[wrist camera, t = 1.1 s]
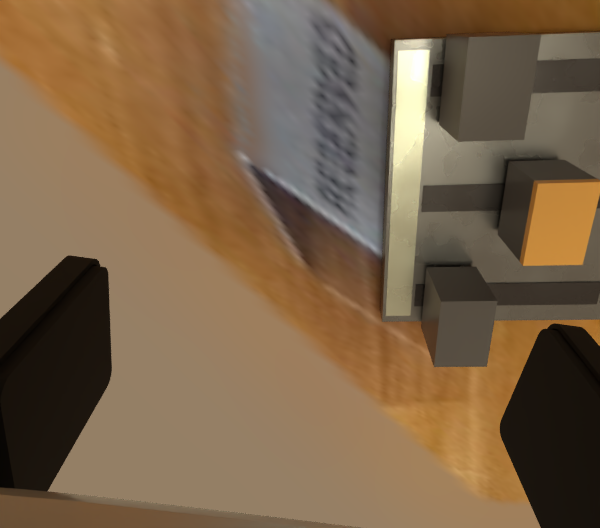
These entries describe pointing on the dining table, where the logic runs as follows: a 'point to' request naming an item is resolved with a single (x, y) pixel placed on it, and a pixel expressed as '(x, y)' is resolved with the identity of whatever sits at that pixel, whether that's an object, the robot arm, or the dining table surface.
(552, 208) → the block
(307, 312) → the dining table surface
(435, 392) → the dining table surface
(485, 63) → the breaker
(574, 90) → the panel
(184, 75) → the dining table surface
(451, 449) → the dining table surface
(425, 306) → the block
